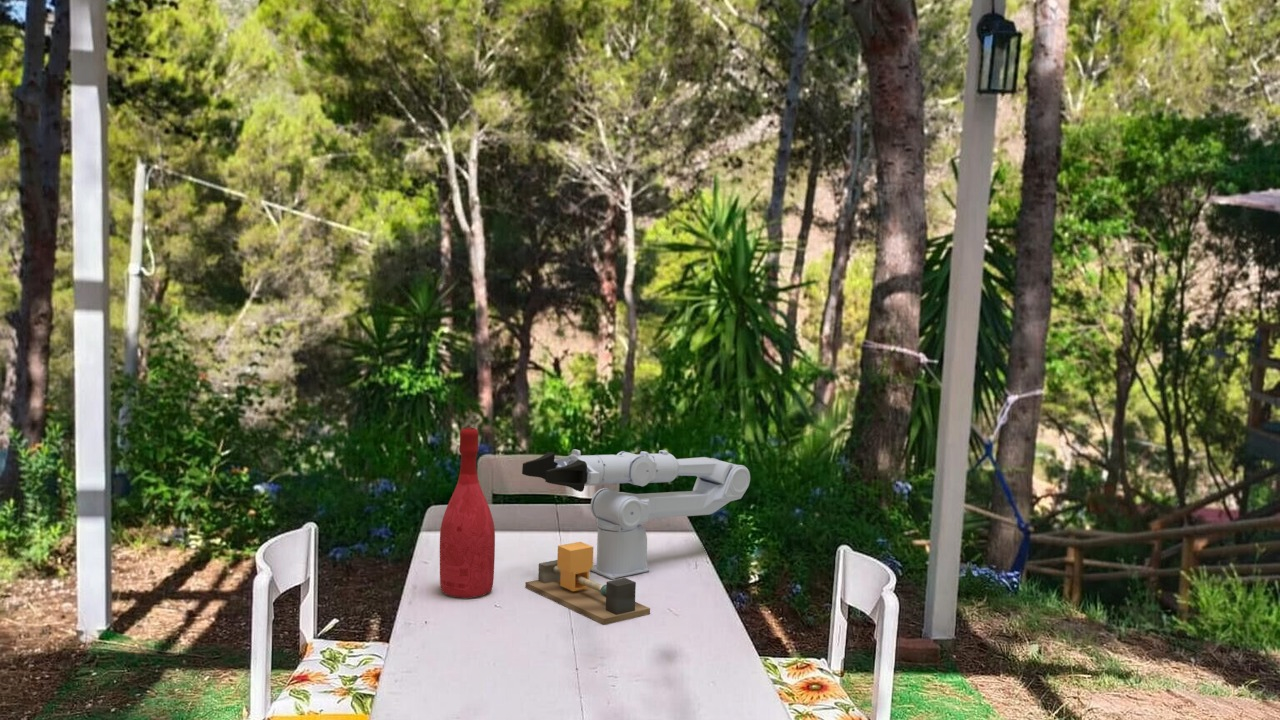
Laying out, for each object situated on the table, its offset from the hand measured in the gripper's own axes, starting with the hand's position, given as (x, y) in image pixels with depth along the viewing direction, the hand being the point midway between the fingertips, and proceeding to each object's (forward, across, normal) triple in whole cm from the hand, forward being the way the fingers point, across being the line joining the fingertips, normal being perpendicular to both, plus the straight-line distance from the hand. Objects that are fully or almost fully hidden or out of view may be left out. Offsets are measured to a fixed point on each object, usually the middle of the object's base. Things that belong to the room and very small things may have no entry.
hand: (534, 472), depth 203 cm
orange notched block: (-6, +8, +20) cm, 22 cm away
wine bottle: (+9, -5, +22) cm, 25 cm away
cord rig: (-6, +11, +21) cm, 25 cm away
